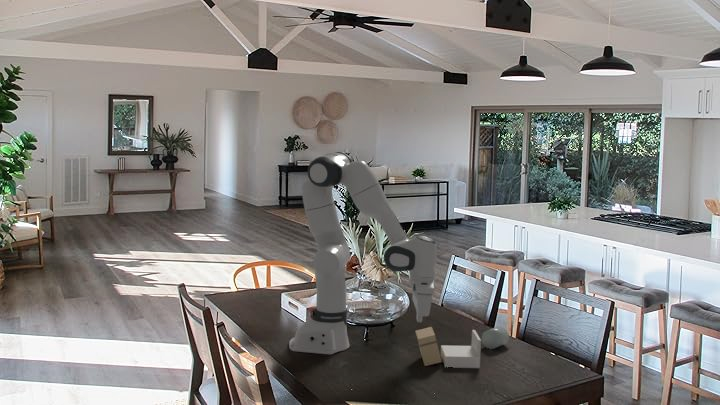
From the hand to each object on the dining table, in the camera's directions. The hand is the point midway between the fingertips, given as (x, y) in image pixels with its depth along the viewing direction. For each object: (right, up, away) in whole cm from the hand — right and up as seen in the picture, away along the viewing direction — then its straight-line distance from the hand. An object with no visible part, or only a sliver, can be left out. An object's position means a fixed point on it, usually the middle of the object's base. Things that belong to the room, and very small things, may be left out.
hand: (419, 320), depth 230 cm
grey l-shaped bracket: (+14, -15, +2) cm, 21 cm away
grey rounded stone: (+28, -10, +16) cm, 33 cm away
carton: (+6, -8, +1) cm, 10 cm away
